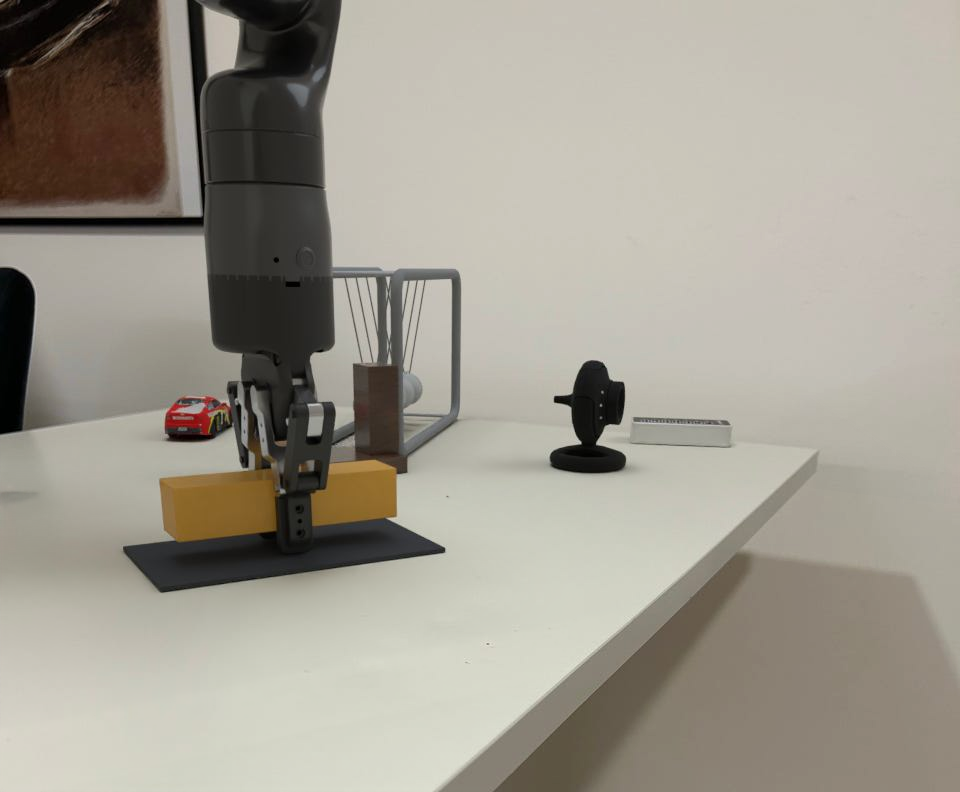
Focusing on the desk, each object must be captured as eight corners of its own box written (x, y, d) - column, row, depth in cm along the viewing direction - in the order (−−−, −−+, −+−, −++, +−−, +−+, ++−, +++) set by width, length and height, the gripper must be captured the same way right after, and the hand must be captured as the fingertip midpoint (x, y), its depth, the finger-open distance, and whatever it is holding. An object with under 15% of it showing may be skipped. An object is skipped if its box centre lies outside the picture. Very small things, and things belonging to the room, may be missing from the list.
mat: (160, 592, 57) (160, 587, 57) (123, 550, 65) (122, 546, 65) (445, 551, 67) (445, 547, 66) (382, 519, 75) (382, 516, 74)
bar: (177, 543, 60) (172, 488, 59) (163, 530, 63) (158, 478, 62) (397, 517, 68) (396, 467, 66) (376, 506, 70) (375, 459, 69)
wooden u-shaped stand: (274, 485, 85) (267, 372, 82) (248, 470, 91) (241, 364, 88) (407, 472, 92) (407, 367, 88) (375, 459, 97) (374, 360, 94)
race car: (194, 423, 117) (191, 389, 116) (239, 424, 117) (237, 390, 116) (157, 440, 105) (153, 402, 104) (207, 442, 105) (204, 403, 104)
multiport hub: (629, 436, 114) (631, 416, 113) (726, 440, 112) (728, 420, 112) (630, 443, 109) (631, 422, 109) (730, 447, 108) (733, 425, 107)
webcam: (617, 475, 92) (625, 365, 88) (540, 469, 94) (544, 361, 91) (632, 461, 99) (640, 358, 95) (560, 455, 101) (565, 355, 98)
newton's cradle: (380, 415, 126) (378, 267, 120) (460, 418, 125) (462, 268, 118) (301, 455, 99) (292, 266, 92) (402, 461, 97) (400, 268, 91)
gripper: (177, 267, 63) (199, 527, 70) (247, 270, 52) (266, 580, 58) (288, 269, 67) (299, 515, 73) (376, 272, 56) (381, 563, 62)
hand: (285, 542), depth 66 cm, fingers closed on bar, 3 cm apart
